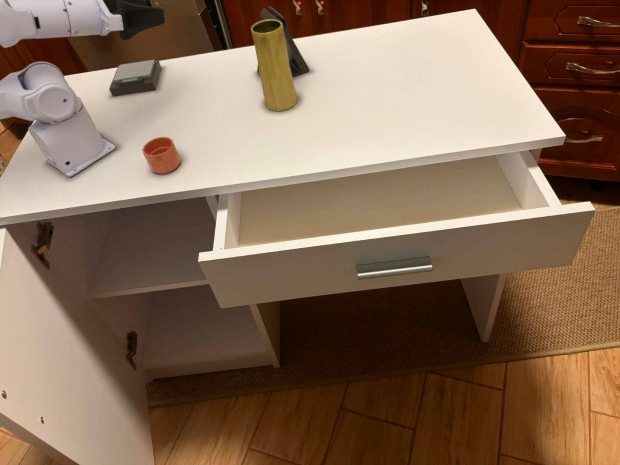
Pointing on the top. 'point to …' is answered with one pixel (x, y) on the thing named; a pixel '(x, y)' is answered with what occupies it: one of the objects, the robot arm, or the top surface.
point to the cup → (161, 155)
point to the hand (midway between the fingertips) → (155, 11)
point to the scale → (135, 77)
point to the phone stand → (287, 45)
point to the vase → (274, 65)
